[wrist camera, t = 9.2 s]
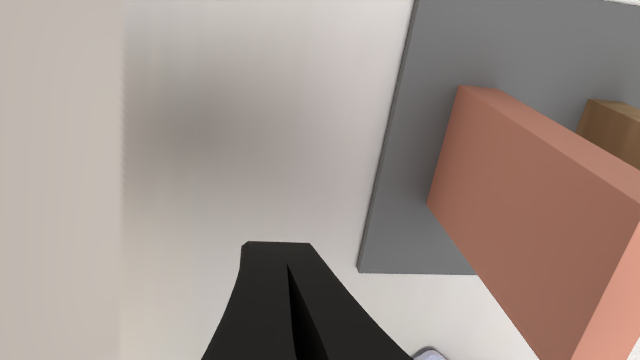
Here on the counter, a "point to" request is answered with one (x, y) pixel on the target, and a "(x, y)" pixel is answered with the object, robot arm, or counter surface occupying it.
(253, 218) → the counter surface
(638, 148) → the domino
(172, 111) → the counter surface
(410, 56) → the domino mat
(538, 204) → the domino
